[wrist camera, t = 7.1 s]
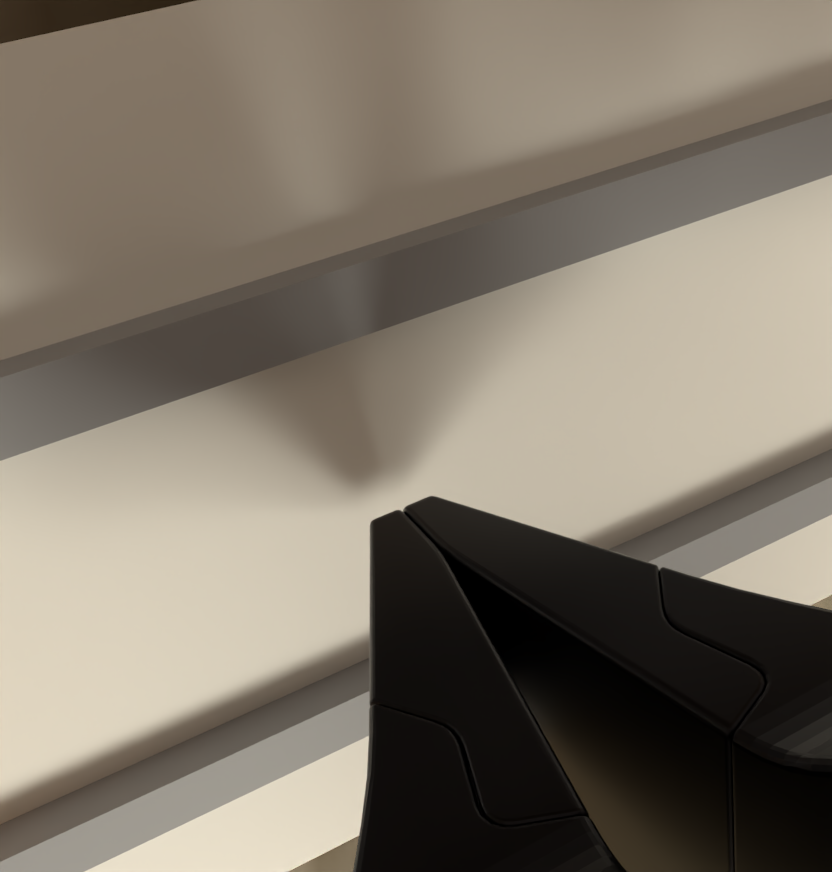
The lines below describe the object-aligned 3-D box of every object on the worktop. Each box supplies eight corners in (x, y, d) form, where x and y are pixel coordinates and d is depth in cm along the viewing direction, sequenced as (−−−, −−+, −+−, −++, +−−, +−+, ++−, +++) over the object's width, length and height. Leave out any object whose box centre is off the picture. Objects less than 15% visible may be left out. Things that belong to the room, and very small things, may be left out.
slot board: (863, 456, 19) (1016, 529, 16) (68, 822, 14) (65, 1025, 11) (919, -147, 13) (1180, -219, 10) (-395, 149, 8) (-671, 185, 5)
